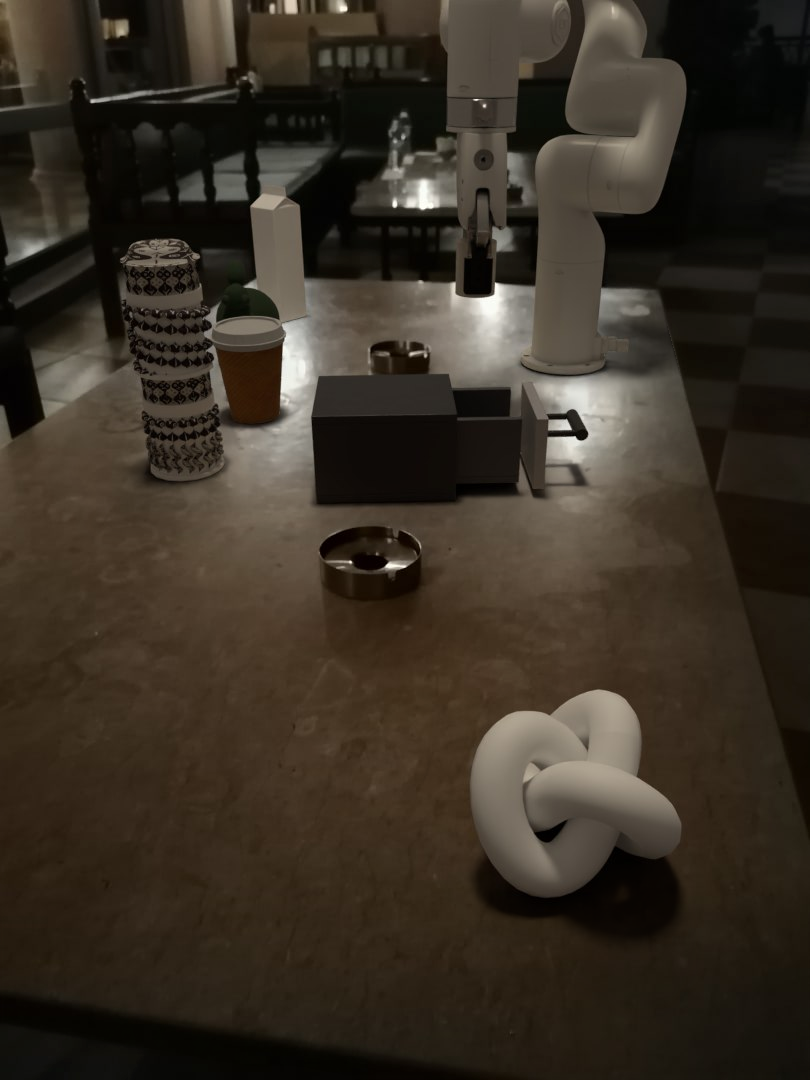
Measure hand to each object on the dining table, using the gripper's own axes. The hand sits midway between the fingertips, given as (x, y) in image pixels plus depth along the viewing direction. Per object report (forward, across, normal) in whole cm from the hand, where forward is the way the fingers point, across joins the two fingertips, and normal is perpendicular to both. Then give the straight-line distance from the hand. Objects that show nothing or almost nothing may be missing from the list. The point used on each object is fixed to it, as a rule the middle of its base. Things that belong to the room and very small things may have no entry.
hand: (475, 286), depth 106 cm
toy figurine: (+18, +24, +31) cm, 43 cm away
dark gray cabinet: (+18, -14, +11) cm, 25 cm away
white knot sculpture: (+19, -68, 0) cm, 70 cm away
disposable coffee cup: (+18, +6, +28) cm, 34 cm away
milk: (+17, +55, +29) cm, 65 cm away
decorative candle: (+18, -10, +34) cm, 40 cm away
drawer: (+17, -14, -2) cm, 22 cm away
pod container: (+1, 0, 0) cm, 1 cm away
